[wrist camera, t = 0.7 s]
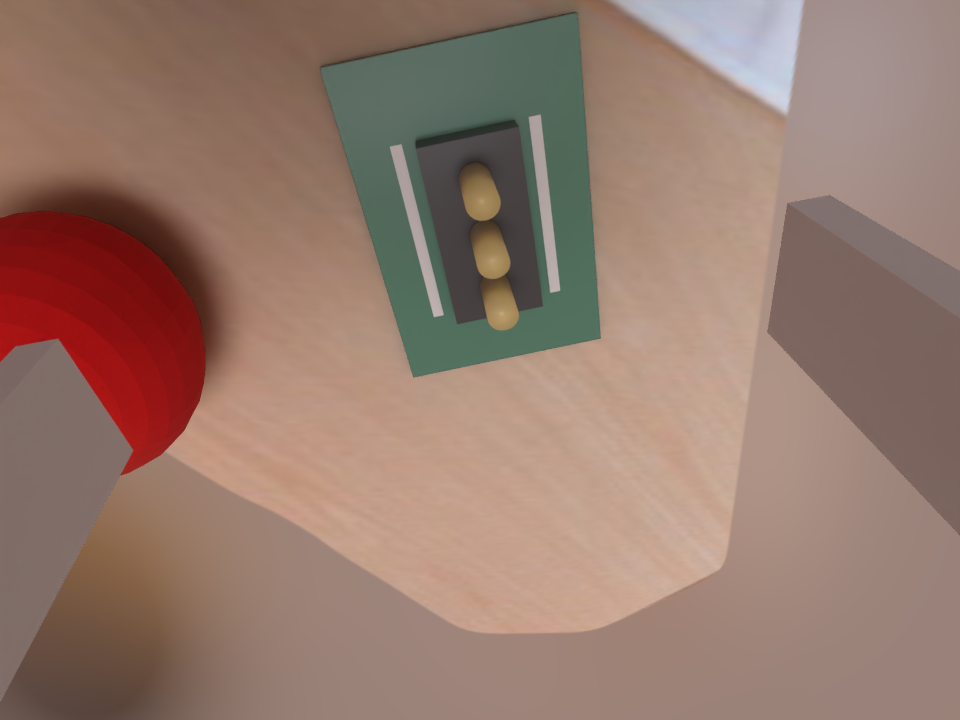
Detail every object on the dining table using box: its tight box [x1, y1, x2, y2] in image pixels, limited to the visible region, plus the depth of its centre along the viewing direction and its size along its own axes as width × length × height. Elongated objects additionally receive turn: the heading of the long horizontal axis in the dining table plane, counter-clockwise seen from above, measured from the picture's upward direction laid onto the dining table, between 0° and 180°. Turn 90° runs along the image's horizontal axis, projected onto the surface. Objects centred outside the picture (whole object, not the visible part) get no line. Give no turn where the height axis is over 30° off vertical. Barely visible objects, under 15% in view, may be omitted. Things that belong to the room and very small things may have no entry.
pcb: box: [320, 12, 601, 377], centre depth 31 cm, size 18×12×5 cm, turn 10°
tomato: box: [0, 211, 205, 475], centre depth 29 cm, size 12×13×11 cm
